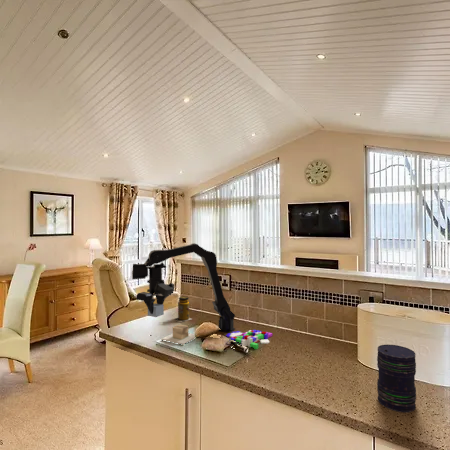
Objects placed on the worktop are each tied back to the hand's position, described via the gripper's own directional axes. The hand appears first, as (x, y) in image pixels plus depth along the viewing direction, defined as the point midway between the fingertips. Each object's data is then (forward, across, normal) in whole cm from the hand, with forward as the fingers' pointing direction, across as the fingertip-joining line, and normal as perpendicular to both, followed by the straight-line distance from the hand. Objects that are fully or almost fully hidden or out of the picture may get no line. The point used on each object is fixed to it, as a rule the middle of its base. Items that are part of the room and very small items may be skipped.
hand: (155, 312), depth 145 cm
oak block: (+11, +5, -10) cm, 16 cm away
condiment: (+12, +30, +8) cm, 33 cm away
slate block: (+1, 0, 0) cm, 1 cm away
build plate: (+12, +5, -10) cm, 16 cm away
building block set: (+13, +18, -36) cm, 43 cm away
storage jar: (+12, -6, -96) cm, 97 cm away
